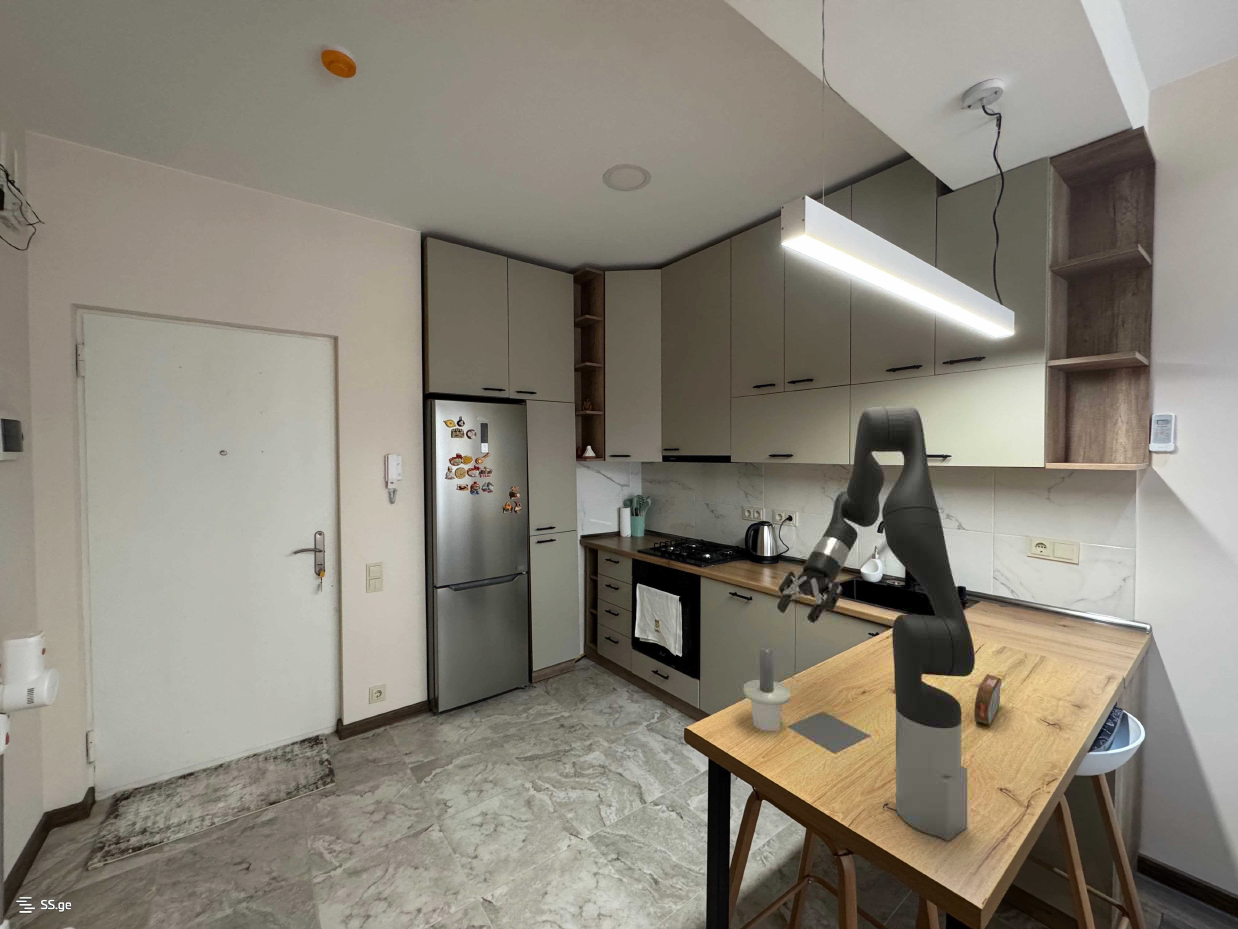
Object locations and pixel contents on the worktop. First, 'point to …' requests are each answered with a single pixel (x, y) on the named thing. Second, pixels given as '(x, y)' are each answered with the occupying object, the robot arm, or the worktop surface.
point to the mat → (829, 732)
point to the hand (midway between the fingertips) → (794, 615)
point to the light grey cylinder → (766, 716)
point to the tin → (987, 699)
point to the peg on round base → (766, 683)
